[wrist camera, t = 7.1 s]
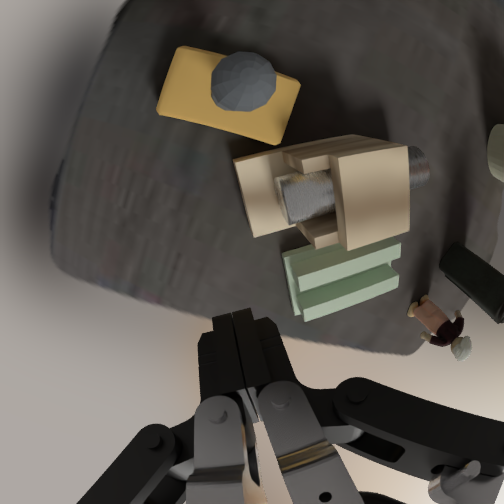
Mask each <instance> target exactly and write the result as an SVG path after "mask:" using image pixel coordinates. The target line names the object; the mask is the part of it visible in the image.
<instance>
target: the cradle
mask: <svg viewBox="0 0 504 504" xmlns="http://www.w3.org/2000/svg"><path fill="white" fill-rule="evenodd" d="M400 252H401V243H400V242H399V241H398V240H396V239H395V238H394V237H389V238H386V239H383V240H380V241H377V242H374V243H371V244H368V245H365V246H362V247H359V248H356V249H353V250H350V251H347V250H346V249H345V248H344V247H343V246H342V245H341V244H340V243H336V244H333V245H330V246H326V247H323V248H320V249H317V250H316V249H315V248H314V247H313V246H312V244H310V245H307V246H304V247H300V248H297V249H294V250H290V251H287V252H283V253H282V258H283V263H284V268H285V273H286V278H287V283H288V289H289V294H290V299H291V304H292V310H293V312H294V314H295V316H296V315H299V314H301V315H302V317H303V319H304V321H305V322H306V321H309V320H312V319H315V318H318V317H321V316H324V315H327V314H330V313H333V312H335V311H338V310H341V309H344V308H347V307H349V306H352V305H355V304H357V303H360V302H362V301H365V300H368V299H370V298H373V297H375V296H378V295H380V294H383V293H385V292H388V291H390V290H393V289H395V288H397V287H398V281H399V274H397V273H396V272H395V271H394V270H393V269H392V268H391V261H392V260H394V259H397V258H400Z"/></svg>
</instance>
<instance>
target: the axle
mask: <svg viewBox="0 0 504 504" xmlns="http://www.w3.org/2000/svg"><path fill="white" fill-rule="evenodd" d="M407 148H408V162H409V185H410V189H414V188H417V187H421V186H424V185H425V184H426V183H427V182H428V179H429V165H428V161H427V159H426V157H425V155H424V153H423V152H422V151H421V150H420V149H419V148H417V147H415V146H410V147H407ZM274 186H275V192H276V196H277V200H278V203H279V206H280V209H281V212H282V214H283V217H284V219H285V221H286V222H287V224H288V225H292V224H296V223H299V222H302V221H306V220H309V219H312V218H315V217H319V216H322V215H325V214H329V213H332V212H335V211H336V207H335V198H334V190H333V183H332V175H331V168H329V169H324V170H320V171H316V172H311V173H307V174H303V173H302V172H300V171H298V172H294V173H290V174H286V175H283V176H279V177H276V178H275V179H274Z"/></svg>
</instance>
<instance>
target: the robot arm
mask: <svg viewBox="0 0 504 504" xmlns="http://www.w3.org/2000/svg"><path fill="white" fill-rule="evenodd" d="M232 315H233V317H232ZM212 322H213V331H210V332H207V333H202V335H201V338H200V340H199V342H198V363H199V381H200V394H201V395H200V396H201V402H200V405H199V406H198V408H197V409H196V412H195V414H194V416H192V417H191V418H190V419H189V420H187V421H185V422H183V423H181V424H179V425H177V426H175V427H172V428H168V427H166V426H165V425H162V424H151V425H148V426H146V427H144V428H143V429H141V430H140V431H139V432H138V433H137V435H136V436H135V437H134V438H133V439H132V441H131V442H130V443H129V444H128V445H127V447H126V448H125V449H124V450H123V451H122V452H121V454H120V455H119V456H118V457H117V458H116V460H115V461H114V462H113V463H112V464H111V465H110V466H109V468H108V469H107V470H106V471H105V472H104V473H103V474H102V476H101V477H100V478H99V479H98V480H97V481H96V482H95V484H94V485H93V486H92V487H91V488H90V489H89V490H88V491H87V493H86V494H85V495H84V496H83V497H82V498H81V499H80V500H79V501H78V503H77V504H183V503H184V502H185V501H186V504H268V503H267V498H266V495H265V492H264V489H263V484H262V478H261V470H260V463H259V456H258V449H257V443H256V437H255V432H254V427H253V423H257V422H259V419H258V415H259V418H260V420H261V421H263V422H264V425H265V428H266V430H267V433H268V436H269V439H270V442H271V444H272V447H273V450H274V452H275V455H276V458H277V461H278V465H279V468H280V470H281V473H282V476H283V478H284V481H285V484H286V486H287V489H288V491H289V494H290V497H291V499H292V502H293V504H406V503H403V502H400V501H398V500H395V499H393V498H390V497H388V496H385V495H382V494H378V493H373V492H362V491H358V490H357V489H356V486H355V485H354V483H353V481H352V479H351V477H350V475H349V473H348V471H347V469H346V467H345V465H344V463H343V461H342V459H341V457H340V455H339V454H338V452H337V450H336V449H335V447H334V446H333V445H332V444H336V445H338V446H340V447H342V448H344V449H346V450H349V451H351V452H353V453H355V454H358V455H360V456H362V457H365V458H367V459H369V460H372V461H374V462H376V463H379V464H382V465H384V466H387V467H389V468H392V469H395V470H397V471H400V472H403V473H406V474H408V475H412V476H414V477H418V478H421V479H424V480H427V481H430V483H429V486H428V493H429V496H430V498H431V499H432V500H433V501H434V502H436V503H439V504H494V503H495V500H496V498H497V495H498V493H499V490H500V488H501V485H502V482H503V480H504V422H501V421H497V420H493V419H489V418H485V417H482V416H478V415H474V414H471V413H467V412H463V411H460V410H457V409H453V408H450V407H447V406H443V405H440V404H437V403H434V402H430V401H427V400H424V399H422V398H418V397H416V396H413V395H410V394H407V393H404V392H401V391H399V390H396V389H393V388H390V387H387V386H385V385H382V384H380V383H377V382H374V381H372V380H369V379H366V378H362V377H354V378H349V379H347V380H345V381H343V382H341V383H340V384H339V385H338V386H337V387H336V388H335V389H312V388H309V387H306V386H304V385H302V384H301V383H300V382H299V381H298V380H297V378H296V376H295V374H294V371H293V368H292V366H291V363H290V361H289V358H288V355H287V352H286V350H285V347H284V345H283V342H282V339H281V337H280V333H279V331H278V328H277V325H276V324H275V323H274V322H273V321H272V320H271V319H269V318H268V317H265V318H261V319H258V320H254V318H253V315H252V311H251V308H247V309H243V310H239V311H235V312H232V314H231V313H228V314H224V315H220V316H215V317H212ZM257 413H258V415H257Z"/></svg>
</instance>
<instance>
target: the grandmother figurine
mask: <svg viewBox="0 0 504 504" xmlns="http://www.w3.org/2000/svg"><path fill="white" fill-rule="evenodd" d="M407 315H408V316H409V317H414V316H415V317H416V318H417V319H419V320H420V321H421V322H422V323H423V324H424V325H425V326H426V327H427V328H428V329H429V330H430V331H431V332H432V333H434V334H435V335H436V336H437V337H436V336H433V335H430V334H427V333H426V332H422V333H421V335H420V337H421V338H422V339H425V340H426V341H428V342H429V343H430V344H434V345H437V346H441V347H443V346H447V345H450V344H451V351H452V353H453V354H454V356H455V358H456V359H457V360H458V361H464V360H466V359H467V358H468V357H469V355H470V353H471V349H472V345H471V340H470V337H468V336H465V337H464V338H463V337H458V336H459V335H460V334H461V332H462V330H463V327H464V318H462V315H461V313H460V311H459V310H457V311H456V312H455V316H456V320H455V322H454V323H452V322H451V321H450V320H449V319H448V317H447V316H446V315H445V314H444V313H443V312H442V310H441V309H440V308H439V307H437V306H436V305H435V304H434V303H433V302H432V301H430V300H429V298H428V295H424V296H423V297H422V298H421V299H420V306H419V307H418V302H413V303H412V304H411V305H410V307H409V310H408V313H407Z"/></svg>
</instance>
